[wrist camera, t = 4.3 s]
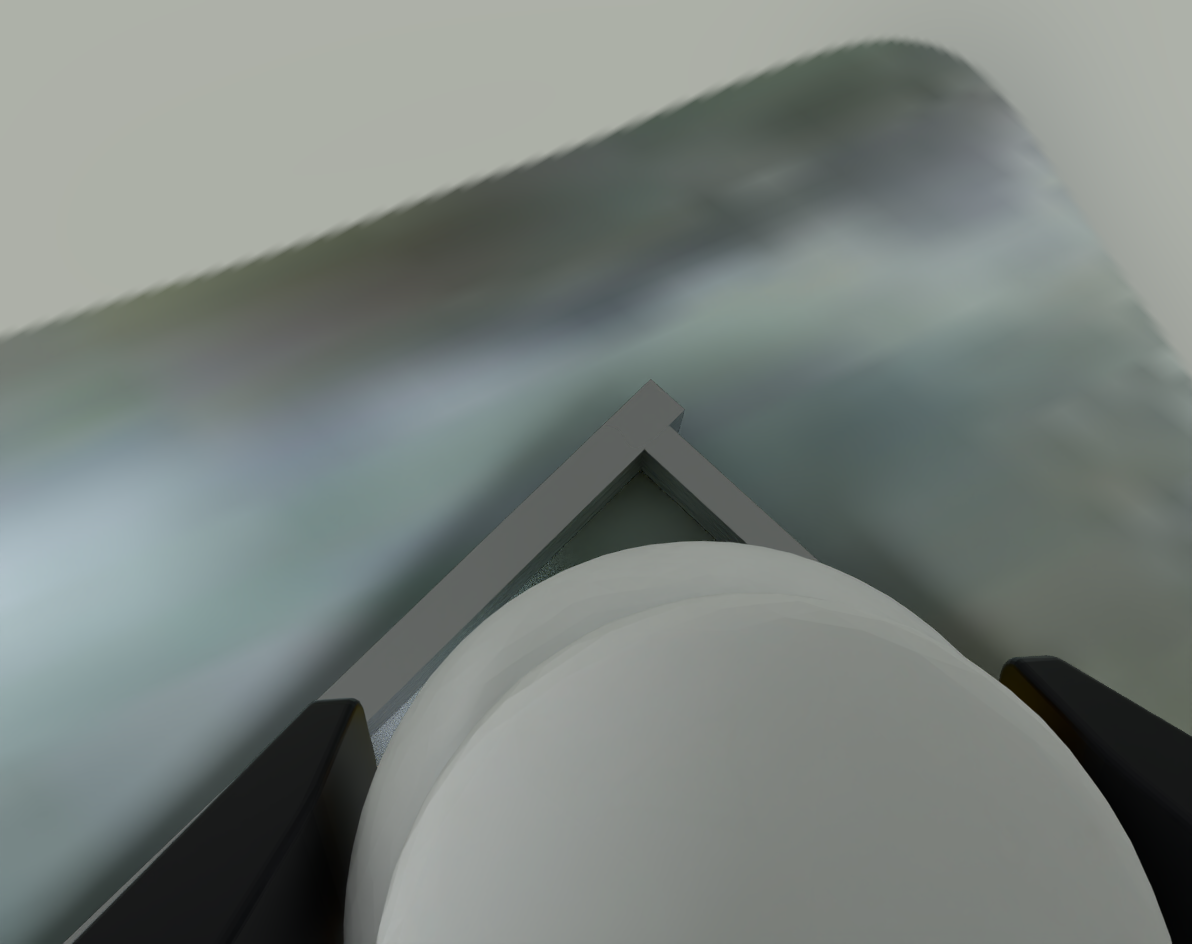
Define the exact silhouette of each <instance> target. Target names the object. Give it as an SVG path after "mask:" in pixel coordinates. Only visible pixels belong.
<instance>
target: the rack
mask: <svg viewBox="0 0 1192 944" xmlns="http://www.w3.org/2000/svg"><path fill="white" fill-rule="evenodd" d="M684 411H685V409H684V408H683V407H681V406H680V405H679V404H678V403H677V402H676V401H675V400H674V399H673V398H671V397H670V396H669V395H668V394H667V393H666V392H665V391H664V390H662V389H661V388H660V387H659V386H658V385H657V384H656V383H655V382H654V381H652V380H651V379H650V380H649V381H648V382H647V383H646V384H645V385H644V386H643V387H642V388H641V389H640V390H639V391H638V392H637V393H636V394H635V395H634V396H633V397H632V398H631V399H630V400H629V401H628V402H627V403H625V404H624V405H623V406H622V407H621V408H620V409H619V410H618V411H617V412H616V413H615V414H614V415H613V416H612V417H611V418H610V419H609V420H608V421H607V422H606V423H605V424H604V425H603V426H602V427H600V428H599V429H598V430H597V431H596V432H595V433H594V434H593V435H592V436H591V437H590V438H589V439H588V440H587V441H586V442H585V443H584V444H583V445H582V446H581V447H580V448H579V449H578V450H577V451H575V452H574V453H573V454H572V455H571V456H570V457H569V458H568V459H567V460H566V461H565V462H564V463H563V464H562V465H561V466H560V467H559V468H558V469H557V470H556V471H555V472H554V473H553V474H552V475H550V476H549V477H548V478H547V479H546V480H545V481H544V482H543V483H542V484H541V485H540V486H539V487H538V488H537V489H536V490H535V491H534V492H533V493H532V494H531V495H530V496H529V497H528V498H527V499H526V500H524V501H523V502H522V503H521V504H520V505H519V506H518V507H517V508H516V509H515V510H514V511H513V512H512V513H511V514H510V515H509V516H508V517H507V518H506V519H505V520H504V521H503V522H502V523H501V524H499V525H498V526H497V527H496V528H495V529H494V530H493V531H492V532H491V533H490V534H489V535H488V536H487V537H486V538H485V539H484V540H483V541H482V542H481V543H480V544H479V545H478V546H477V547H476V548H474V549H473V550H472V551H471V552H470V553H469V554H468V555H467V556H466V557H465V558H464V559H463V560H462V561H461V562H460V563H459V564H458V565H457V566H456V567H455V568H454V569H453V570H452V571H451V572H449V573H448V574H447V575H446V576H445V577H444V578H443V579H442V580H441V581H440V582H439V583H438V584H437V585H436V586H435V587H434V588H433V589H432V590H431V591H430V592H429V593H428V594H427V595H426V596H424V597H423V598H422V599H421V600H420V601H419V602H418V603H417V604H416V605H415V606H414V607H413V608H412V609H411V610H410V611H409V612H408V613H407V614H406V615H405V616H404V617H403V618H402V619H401V620H399V621H398V622H397V623H396V624H395V625H394V626H393V627H392V628H391V629H390V630H389V631H388V632H387V633H386V634H385V635H384V636H383V637H382V638H381V639H380V640H379V641H378V642H377V643H376V644H375V645H373V646H372V647H371V648H370V649H369V650H368V651H367V652H366V653H365V654H364V655H363V656H362V657H361V658H360V659H359V660H358V661H357V662H356V663H355V664H354V665H353V666H352V667H351V668H350V669H348V670H347V671H346V672H345V673H344V674H343V675H342V676H341V677H340V678H339V679H338V680H337V681H336V682H335V683H334V684H333V685H332V686H331V687H330V688H329V689H328V690H327V691H326V692H325V693H323V694H322V695H321V696H320V697H319V698H318V699H317V700H322V699H338V698H355V699H357V700H359V701H360V703H361V705H362V706H363V709H364V712H365V716H366V721H367V725H368V729H369V733H370V737H371V736H372V735H373V734H374V733H375V732H376V731H377V730H378V729H379V728H380V727H381V726H382V725H383V724H384V723H385V722H386V721H387V720H388V719H389V718H390V717H391V716H392V715H393V714H394V713H395V712H396V711H397V710H398V709H399V708H400V707H401V706H402V705H403V704H404V703H405V702H406V701H407V700H408V699H409V698H410V697H411V696H412V695H413V694H414V693H415V692H416V691H417V690H418V689H419V688H420V687H421V686H422V685H423V684H424V683H425V682H426V681H427V680H428V679H429V677H430V676H431V675H432V674H433V673H434V672H435V670H436V669H437V668H438V667H439V666H440V665H441V664H442V662H443V661H444V660H445V659H446V658H447V657H448V656H449V654H450V653H451V652H452V651H453V650H454V649H455V648H456V647H457V646H458V645H459V644H460V642H461V641H462V640H463V639H465V638H466V637H467V636H468V635H469V634H470V633H471V632H472V631H473V630H474V629H476V628H477V627H478V626H479V625H480V624H481V623H482V622H483V621H484V620H485V619H487V618H488V617H489V616H491V615H492V614H493V613H495V612H496V611H497V610H499V609H500V608H501V607H502V606H503V605H504V604H505V603H506V602H507V601H508V600H509V599H510V598H511V597H512V596H513V595H515V594H516V593H517V592H518V591H519V590H520V589H521V588H522V587H523V586H524V585H525V584H526V583H527V582H528V581H529V580H530V579H531V578H532V577H533V576H534V575H535V574H536V573H537V572H538V571H539V570H540V569H541V568H542V567H543V566H544V565H545V564H546V563H547V562H548V561H549V560H550V559H551V558H552V557H553V556H554V555H555V554H556V553H557V552H558V551H559V550H560V549H561V548H562V547H563V546H564V545H565V544H566V543H567V542H568V541H569V540H570V539H571V538H572V537H573V536H574V535H575V534H576V533H577V532H578V531H579V530H580V529H581V528H582V527H583V526H584V525H585V524H586V523H587V522H588V521H589V520H590V519H591V518H592V517H593V516H594V515H595V514H596V513H597V512H598V511H599V510H601V509H602V508H603V507H604V506H605V505H606V504H607V503H608V502H609V501H610V500H611V499H612V498H613V497H614V496H615V495H616V494H617V493H618V492H619V491H620V490H621V489H622V488H623V487H624V486H625V485H626V484H627V483H628V482H629V481H630V480H631V479H632V478H633V477H634V476H635V475H636V474H637V473H638V472H639V471H640V470H642V471H643V472H644V473H645V474H646V475H647V476H648V477H649V478H651V479H652V480H653V481H654V482H655V483H656V484H657V485H658V486H659V487H660V488H661V489H662V490H663V491H664V492H666V493H667V494H668V495H669V496H670V497H671V498H672V499H673V500H674V501H675V502H676V503H677V504H678V505H680V506H681V507H682V508H683V509H684V510H685V511H686V512H687V513H688V514H689V515H690V516H691V517H692V518H694V519H695V520H696V521H697V522H698V523H699V524H700V525H701V526H702V527H703V528H704V529H705V530H706V531H708V532H709V533H710V534H711V535H712V536H713V537H714V538H715V539H716V540H717V541H718V542H734V543H741V544H748V545H755V546H762V547H767V548H771V549H775V550H780V551H784V552H789V553H792V554H795V555H798V556H801V557H804V558H807V559H810V560H813V561H816V562H819V561H818V560H817V559H816V558H815V557H814V556H813V555H811V554H810V553H809V552H808V551H807V550H806V549H805V548H804V547H803V546H802V545H800V544H799V543H798V542H797V541H796V540H795V539H794V538H793V537H792V536H791V535H789V534H788V533H787V532H786V531H785V530H784V529H783V528H782V527H781V526H779V525H778V524H777V523H776V522H775V521H774V520H773V519H772V518H771V517H770V516H768V515H767V514H766V513H765V512H764V511H763V510H762V509H761V508H760V507H758V506H757V505H756V504H755V503H754V502H753V501H752V500H751V499H750V498H749V497H747V496H746V495H745V494H744V493H743V492H742V491H741V490H740V489H739V488H738V487H736V486H735V485H734V484H733V483H732V482H731V481H730V480H729V479H728V478H726V477H725V476H724V475H723V474H722V473H721V472H720V471H719V470H718V469H717V468H715V467H714V466H713V465H712V464H711V463H710V462H709V461H708V460H707V459H706V458H704V457H703V456H702V455H701V454H700V453H699V452H698V451H697V450H696V449H694V448H693V447H692V446H691V445H690V444H689V443H688V442H687V441H686V440H685V439H683V438H682V437H681V436H680V435H679V434H678V432H679V428H680V425H681V421H682V418H683V414H684ZM819 563H820V562H819ZM317 700H316V701H317ZM223 790H224V789H223ZM223 790H222V791H223ZM222 791H221V792H222ZM221 792H220V793H221ZM220 793H219V794H220ZM219 794H218V795H219ZM218 795H217V796H218ZM217 796H216V797H217ZM216 797H215V798H216ZM215 798H214V799H215ZM214 799H213V800H214ZM213 800H212V801H213ZM212 801H211V802H212ZM211 802H210V803H211ZM210 803H209V804H210ZM209 804H208V805H209ZM208 805H207V806H208ZM207 806H206V807H207ZM206 807H205V808H206ZM205 808H204V809H205ZM204 809H203V810H204ZM203 810H202V811H203ZM202 811H201V812H202ZM201 812H200V813H201ZM200 813H199V814H200ZM199 814H197V815H196V816H195V817H194V818H193V819H192V820H191V821H190V822H189V823H188V824H187V825H186V826H185V827H184V828H183V829H182V830H181V831H180V832H179V833H178V834H177V835H176V836H175V837H174V838H172V839H171V840H170V841H169V842H168V843H167V844H166V845H165V846H164V847H163V848H162V849H161V850H160V851H159V852H158V853H157V854H156V855H155V856H154V857H153V858H152V859H151V860H150V861H149V862H147V863H146V864H145V865H144V866H143V867H142V868H141V869H140V870H139V871H138V872H137V873H136V874H135V875H134V876H133V877H132V878H131V879H130V880H129V881H128V882H127V883H126V884H125V885H124V886H122V887H121V888H120V889H119V890H118V891H117V892H116V893H115V894H114V895H113V896H112V897H111V898H110V899H109V900H108V901H107V902H106V903H105V904H104V905H103V906H102V907H101V908H100V909H99V910H97V911H96V912H95V913H94V914H93V915H92V916H91V917H90V918H89V919H88V920H87V921H86V922H85V923H84V924H83V925H82V926H81V927H80V928H79V929H78V930H77V931H76V932H75V933H74V934H72V935H71V936H70V937H69V938H68V939H67V940H66V941H65V942H64V943H63V944H71V943H72V942H73V941H74V940H75V939H76V938H77V937H78V936H79V935H80V934H81V933H82V932H83V931H84V930H85V929H86V928H87V927H88V926H89V925H90V924H91V923H92V922H93V921H94V920H95V919H96V918H97V917H98V916H99V915H100V914H101V913H102V912H103V911H104V910H105V909H106V908H107V907H108V906H109V905H110V904H111V903H112V902H113V901H114V900H115V899H116V898H117V897H118V896H119V895H120V894H121V893H122V892H123V891H124V890H125V889H126V888H127V887H128V886H129V885H130V884H131V883H132V882H133V881H134V880H135V879H136V878H137V877H138V876H139V875H140V874H141V873H142V872H143V871H144V870H145V869H146V868H147V867H148V866H149V865H150V864H151V863H152V862H153V861H154V860H155V859H156V858H157V857H158V856H159V855H160V854H161V853H162V852H163V851H164V850H165V849H166V848H167V847H168V846H169V845H170V844H171V843H172V842H173V841H174V840H175V839H176V838H177V837H178V835H179V834H180V833H181V832H182V831H183V830H184V829H185V828H186V827H187V826H188V825H189V824H190V823H191V822H192V821H193V820H194V819H195V818H196V817H197V816H198V815H199Z"/></svg>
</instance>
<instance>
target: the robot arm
mask: <svg viewBox="0 0 1192 944" xmlns="http://www.w3.org/2000/svg"><path fill="white" fill-rule="evenodd" d="M999 682H1000V683H1001V684H1003V685H1004V686H1005V687H1007V688H1008V689H1009V690H1011V691H1012V692H1013V693H1014V694H1015V695H1016V696H1017V697H1018V698H1020V699H1021V700H1022V701H1023V702H1024V703H1025V704H1026V705H1027V706H1028V707H1030V708H1031V709H1032V710H1033V711H1034V712H1035V713H1036V714H1037V715H1039V716H1040V717H1041V718H1042V719H1043V720H1044V721H1045V723H1046V724H1047V725H1048V726H1049V727H1050V728H1051V729H1052V730H1053V731H1054V733H1055V734H1056V735H1057V736H1058V737H1059V738H1060V739H1061V740H1062V742H1063V743H1064V744H1065V745H1066V746H1067V747H1068V748H1069V749H1070V751H1071V752H1072V753H1073V755H1074V756H1075V758H1076V759H1077V760H1078V762H1079V763H1080V764H1081V766H1082V767H1083V768H1084V770H1085V771H1086V773H1087V774H1088V775H1089V777H1090V778H1091V779H1092V781H1093V782H1094V783H1095V785H1096V786H1097V787H1098V789H1099V790H1100V792H1101V793H1102V794H1103V796H1104V797H1105V799H1106V800H1107V802H1108V803H1109V805H1110V806H1111V808H1112V810H1113V812H1114V813H1115V815H1116V817H1117V818H1118V820H1119V822H1120V824H1121V825H1122V827H1123V829H1124V831H1125V832H1126V834H1127V836H1128V837H1129V839H1130V841H1131V843H1132V845H1133V847H1134V849H1135V852H1136V854H1137V856H1138V858H1139V860H1140V863H1141V865H1142V867H1143V869H1144V872H1145V874H1146V876H1147V878H1148V880H1149V883H1150V885H1151V887H1152V889H1153V892H1154V894H1155V897H1156V900H1157V902H1158V905H1159V908H1160V910H1161V913H1162V916H1163V919H1164V921H1165V924H1166V927H1167V929H1168V932H1169V935H1170V937H1171V942H1172V944H1192V736H1190V735H1188V734H1187V733H1185V732H1183V731H1182V730H1180V729H1178V728H1176V727H1175V726H1173V725H1171V724H1170V723H1168V722H1166V721H1165V720H1163V719H1161V718H1160V717H1158V716H1156V715H1155V714H1153V713H1151V712H1149V711H1148V710H1146V709H1144V708H1143V707H1141V706H1139V705H1138V704H1136V703H1134V702H1133V701H1131V700H1129V699H1127V698H1126V697H1124V696H1122V695H1121V694H1119V693H1117V692H1116V691H1114V690H1112V689H1111V688H1109V687H1107V686H1105V685H1104V684H1102V683H1100V682H1099V681H1097V680H1095V679H1094V678H1092V677H1090V676H1089V675H1087V674H1085V673H1084V672H1082V671H1080V670H1078V669H1077V668H1075V667H1073V666H1072V665H1070V664H1068V663H1067V662H1065V661H1063V660H1061V659H1059V658H1057V657H1054V656H1047V655H1045V656H1029V657H1015V658H1012V659H1009V660H1008V661H1007V662H1006V663H1005V664H1004V666H1003V668H1002V671H1001V674H1000V678H999ZM376 770H377V766H376V759H375V755H374V750H373V746H372V742H371V738H370V733H369V729H368V725H367V721H366V716H365V712H364V709H363V706H362V705H361V703H360V701H359V700H357V699H355V698H338V699H322V700H317V701H314V702H312V703H311V704H309V705H308V706H307V707H306V708H305V709H304V710H303V711H302V712H301V713H300V714H299V715H298V716H297V717H296V718H295V719H294V720H293V721H292V722H291V723H290V724H289V725H288V726H287V727H286V728H285V729H284V730H283V731H282V732H281V733H280V734H279V735H278V736H277V737H276V738H275V739H274V740H273V741H272V742H271V743H270V744H269V745H268V746H267V747H266V748H265V749H264V750H263V751H262V752H261V753H260V754H259V755H258V756H257V757H256V758H255V759H254V760H253V761H252V762H251V763H250V764H249V765H248V766H247V767H246V768H245V769H244V770H243V771H242V772H241V773H240V774H239V775H238V776H237V777H236V778H235V779H234V780H233V781H232V782H231V783H230V784H229V785H228V786H227V787H226V788H225V789H224V790H223V791H222V792H221V793H220V794H219V795H218V796H217V797H216V798H215V799H214V800H213V801H212V802H211V803H210V804H209V805H208V806H207V807H206V808H205V809H204V810H203V811H202V812H201V813H200V814H199V815H198V816H197V817H196V818H195V819H194V820H193V821H192V822H191V823H190V824H189V825H188V826H187V827H186V828H185V829H184V830H183V831H182V832H181V833H180V834H179V835H178V837H177V838H176V839H175V840H174V841H173V842H172V843H171V844H170V845H169V846H168V847H167V848H166V849H165V850H164V851H163V852H162V853H161V854H160V855H159V856H158V857H157V858H156V859H155V860H154V861H153V862H152V863H151V864H150V865H149V866H148V867H147V868H146V869H145V870H144V871H143V872H142V873H141V874H140V875H139V876H138V877H137V878H136V879H135V880H134V881H133V882H132V883H131V884H130V885H129V886H128V887H127V888H126V889H125V890H124V891H123V892H122V893H121V894H120V895H119V896H118V897H117V898H116V899H115V900H114V901H113V902H112V903H111V904H110V905H109V906H108V907H107V908H106V909H105V910H104V911H103V912H102V913H101V914H100V915H99V916H98V917H97V918H96V919H95V920H94V921H93V922H92V923H91V924H90V925H89V926H88V927H87V928H86V929H85V930H84V931H83V932H82V933H81V934H80V935H79V936H78V937H77V938H76V939H75V940H74V941H73V942H72V943H71V944H344V926H343V923H344V910H345V897H346V886H347V879H348V873H349V866H350V860H351V854H352V849H353V844H354V840H355V836H356V832H357V828H358V824H359V820H360V816H361V812H362V809H363V806H364V803H365V800H366V797H367V794H368V791H369V789H370V786H371V783H372V780H373V778H374V775H375V772H376Z"/></svg>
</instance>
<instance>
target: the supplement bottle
mask: <svg viewBox="0 0 1192 944" xmlns="http://www.w3.org/2000/svg"><path fill="white" fill-rule="evenodd" d="M343 926H344V944H1172V942H1171V937H1170V935H1169V932H1168V929H1167V927H1166V924H1165V921H1164V919H1163V916H1162V913H1161V910H1160V908H1159V905H1158V902H1157V900H1156V897H1155V894H1154V892H1153V889H1152V887H1151V885H1150V883H1149V880H1148V878H1147V876H1146V874H1145V872H1144V869H1143V867H1142V865H1141V863H1140V860H1139V858H1138V856H1137V854H1136V852H1135V849H1134V847H1133V845H1132V843H1131V841H1130V839H1129V837H1128V836H1127V834H1126V832H1125V831H1124V829H1123V827H1122V825H1121V824H1120V822H1119V820H1118V818H1117V817H1116V815H1115V813H1114V812H1113V810H1112V808H1111V806H1110V805H1109V803H1108V802H1107V800H1106V799H1105V797H1104V796H1103V794H1102V793H1101V792H1100V790H1099V789H1098V787H1097V786H1096V785H1095V783H1094V782H1093V781H1092V779H1091V778H1090V777H1089V775H1088V774H1087V773H1086V771H1085V770H1084V768H1083V767H1082V766H1081V764H1080V763H1079V762H1078V760H1077V759H1076V758H1075V756H1074V755H1073V753H1072V752H1071V751H1070V749H1069V748H1068V747H1067V746H1066V745H1065V744H1064V743H1063V742H1062V740H1061V739H1060V738H1059V737H1058V736H1057V735H1056V734H1055V733H1054V731H1053V730H1052V729H1051V728H1050V727H1049V726H1048V725H1047V724H1046V723H1045V721H1044V720H1043V719H1042V718H1041V717H1040V716H1039V715H1037V714H1036V713H1035V712H1034V711H1033V710H1032V709H1031V708H1030V707H1028V706H1027V705H1026V704H1025V703H1024V702H1023V701H1022V700H1021V699H1020V698H1018V697H1017V696H1016V695H1015V694H1014V693H1013V692H1012V691H1011V690H1009V689H1008V688H1007V687H1005V686H1004V685H1003V684H1001V683H1000V682H999V681H997V680H996V679H995V678H993V677H992V676H991V675H989V674H988V673H987V672H985V671H984V670H983V669H981V668H980V667H978V666H977V665H976V664H974V663H973V662H971V661H970V660H968V659H967V658H965V657H964V656H963V655H962V654H961V653H960V652H959V651H958V650H957V649H956V648H955V647H953V646H952V645H951V644H950V643H949V642H948V641H947V640H946V639H945V638H944V637H942V636H941V635H940V634H939V633H938V632H937V631H936V630H935V629H933V628H932V627H931V626H929V625H928V624H927V623H926V622H924V621H923V620H922V619H920V618H919V617H918V616H917V615H915V614H914V613H913V612H911V611H910V610H908V609H907V608H906V607H904V606H903V605H901V604H900V603H898V602H897V601H895V600H894V599H893V598H891V597H890V596H888V595H886V594H884V593H882V592H881V591H879V590H877V589H875V588H873V587H872V586H870V585H868V584H866V583H864V582H863V581H861V580H859V579H857V578H854V577H852V576H850V575H848V574H846V573H843V572H841V571H839V570H837V569H834V568H832V567H830V566H827V565H825V564H822V563H819V562H816V561H813V560H810V559H807V558H804V557H801V556H798V555H795V554H792V553H789V552H784V551H780V550H775V549H771V548H767V547H762V546H755V545H748V544H741V543H734V542H712V541H688V542H673V543H663V544H652V545H646V546H641V547H635V548H630V549H625V550H621V551H618V552H614V553H610V554H606V555H602V556H600V557H597V558H594V559H592V560H589V561H587V562H584V563H582V564H579V565H576V566H574V567H571V568H569V569H566V570H564V571H562V572H560V573H558V574H556V575H554V576H552V577H550V578H548V579H546V580H544V581H542V582H541V583H539V584H537V585H535V586H533V587H531V588H529V589H528V590H526V591H525V592H523V593H522V594H520V595H519V596H517V597H515V598H514V599H512V600H511V601H509V602H508V603H506V604H505V605H504V606H502V607H501V608H500V609H499V610H497V611H496V612H495V613H493V614H492V615H491V616H489V617H488V618H487V619H485V620H484V621H483V622H482V623H481V624H480V625H479V626H478V627H477V628H476V629H474V630H473V631H472V632H471V633H470V634H469V635H468V636H467V637H466V638H465V639H463V640H462V641H461V642H460V644H459V645H458V646H457V647H456V648H455V649H454V650H453V651H452V652H451V653H450V654H449V656H448V657H447V658H446V659H445V660H444V661H443V662H442V664H441V665H440V666H439V667H438V668H437V669H436V670H435V672H434V673H433V674H432V675H431V676H430V677H429V679H428V680H427V682H426V683H425V684H424V686H423V687H422V689H421V690H420V692H419V693H418V695H417V696H416V698H415V699H414V701H413V703H412V704H411V706H410V707H409V709H408V710H407V712H406V714H405V715H404V717H403V719H402V720H401V722H400V723H399V725H398V727H397V728H396V730H395V732H394V733H393V735H392V737H391V739H390V742H389V744H388V746H387V748H386V750H385V752H384V754H383V756H382V758H381V761H380V763H379V765H378V767H377V770H376V772H375V775H374V778H373V780H372V783H371V786H370V789H369V791H368V794H367V797H366V800H365V803H364V806H363V809H362V812H361V816H360V820H359V824H358V828H357V832H356V836H355V840H354V844H353V849H352V854H351V860H350V866H349V873H348V879H347V886H346V897H345V910H344V923H343Z"/></svg>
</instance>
